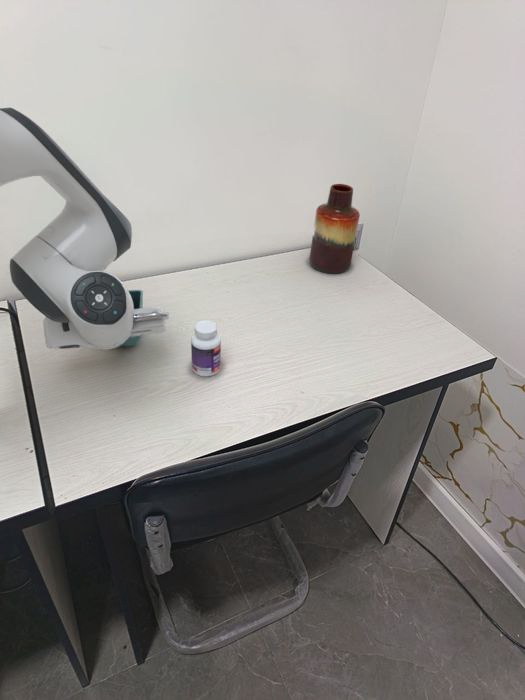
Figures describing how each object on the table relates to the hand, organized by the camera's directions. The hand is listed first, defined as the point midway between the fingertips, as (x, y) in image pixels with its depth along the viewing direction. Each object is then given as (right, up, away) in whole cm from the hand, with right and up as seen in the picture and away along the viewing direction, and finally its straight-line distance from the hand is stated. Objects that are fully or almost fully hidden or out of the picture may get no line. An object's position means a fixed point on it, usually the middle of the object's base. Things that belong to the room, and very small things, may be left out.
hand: (108, 334), depth 92 cm
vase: (+46, +20, +38) cm, 63 cm away
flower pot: (+1, -1, +7) cm, 7 cm away
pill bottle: (+18, -6, +2) cm, 19 cm away
